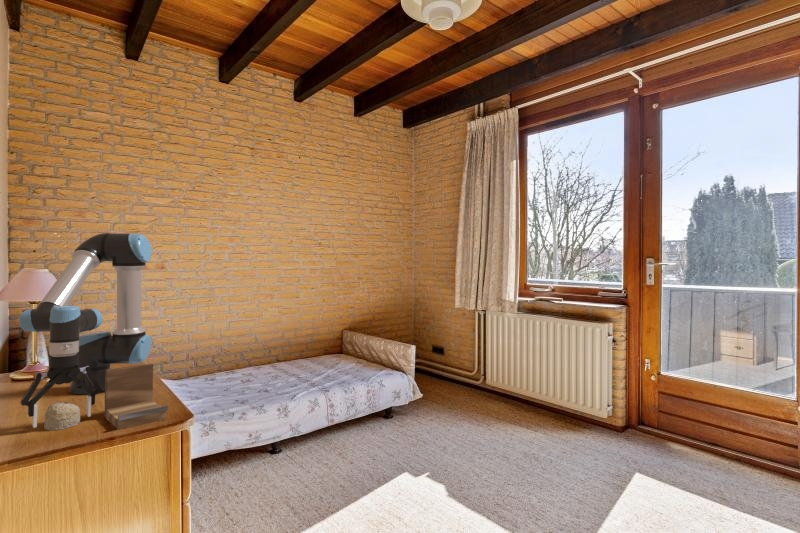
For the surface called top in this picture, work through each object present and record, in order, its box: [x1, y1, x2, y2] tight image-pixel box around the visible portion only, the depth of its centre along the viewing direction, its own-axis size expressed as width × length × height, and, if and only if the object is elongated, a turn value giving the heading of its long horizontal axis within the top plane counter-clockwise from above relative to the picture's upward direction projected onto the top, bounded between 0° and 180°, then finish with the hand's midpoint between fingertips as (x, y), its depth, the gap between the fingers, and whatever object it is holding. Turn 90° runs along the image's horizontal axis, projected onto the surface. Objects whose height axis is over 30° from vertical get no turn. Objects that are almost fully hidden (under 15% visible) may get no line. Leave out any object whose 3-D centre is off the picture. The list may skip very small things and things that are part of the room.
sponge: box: [43, 401, 81, 431], centre depth 134 cm, size 9×10×10 cm
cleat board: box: [103, 363, 169, 431], centre depth 141 cm, size 17×14×16 cm
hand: (62, 420), depth 134 cm, fingers open, 13 cm apart
